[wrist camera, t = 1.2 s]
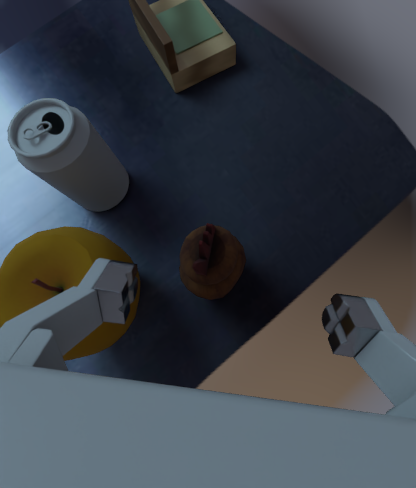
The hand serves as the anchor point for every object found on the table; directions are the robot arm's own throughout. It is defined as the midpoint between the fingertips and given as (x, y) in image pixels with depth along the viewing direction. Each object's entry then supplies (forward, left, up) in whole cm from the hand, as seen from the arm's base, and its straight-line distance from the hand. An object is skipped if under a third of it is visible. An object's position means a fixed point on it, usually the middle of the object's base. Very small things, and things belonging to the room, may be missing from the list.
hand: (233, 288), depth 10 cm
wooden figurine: (0, -4, -19) cm, 19 cm away
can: (+8, -21, -19) cm, 29 cm away
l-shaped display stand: (-12, -37, -19) cm, 43 cm away
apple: (+12, -7, -19) cm, 23 cm away
